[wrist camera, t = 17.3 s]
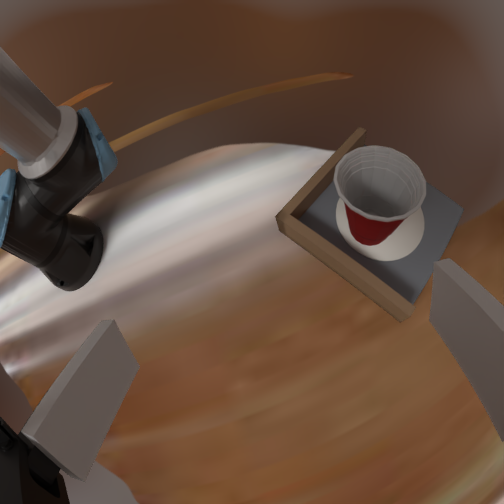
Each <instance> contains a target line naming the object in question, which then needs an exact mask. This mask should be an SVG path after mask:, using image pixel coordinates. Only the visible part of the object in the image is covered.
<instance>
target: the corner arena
mask: <svg viewBox="0 0 504 504" xmlns="http://www.w3.org/2000/svg"><path fill="white" fill-rule="evenodd" d="M365 138H366V130H365V129H363V128H361V127H358V129H357V130H356V131H355V132H354V133H353V134H352V135H351V136H350V137H349V138H348V139H347V140H346V141H345V142H344V143H343V144H342V146H341V147H340V148H339V149H338V150H337V151H336V152H335V153H334V154H333V155H332V156H331V157H330V158H329V159H328V160H327V161H326V163H325V164H324V165H323V166H322V167H321V168H320V169H319V170H318V171H317V172H316V173H315V174H314V175H313V176H312V177H311V179H310V180H309V181H308V182H307V183H306V184H305V185H304V186H303V187H302V188H301V189H300V190H299V191H298V192H297V194H296V195H295V196H294V197H293V198H292V199H291V200H290V201H289V202H288V203H287V204H286V205H285V206H284V207H283V209H282V210H281V211H280V212H279V213H278V214H277V215H276V216H275V217H276V221H277V224H278V228H279V231H280V232H282V233H283V234H284V235H286V236H287V237H289V238H290V239H291V240H293V241H294V242H295V243H297V244H298V245H300V246H301V247H302V248H304V249H305V250H306V251H308V252H309V253H310V254H312V255H313V256H314V257H316V258H317V259H319V260H320V261H321V262H323V263H324V264H325V265H327V266H328V267H329V268H331V269H332V270H333V271H335V272H336V273H337V274H339V275H340V276H341V277H342V278H344V279H345V280H346V281H348V282H349V283H350V284H352V285H353V286H354V287H356V288H357V289H358V290H360V291H361V292H362V293H363V294H365V295H366V296H367V297H369V298H370V299H371V300H372V301H374V302H375V303H376V304H378V305H379V306H380V307H381V308H383V309H384V310H385V311H387V312H388V313H389V314H390V315H392V316H393V317H394V318H395V319H397V320H398V321H399V322H402V321H404V320H405V319H407V318H409V317H410V316H411V315H412V313H413V312H414V310H415V308H416V307H415V306H414V305H413V304H414V302H415V301H416V299H417V298H418V296H419V294H420V293H421V291H422V289H423V288H424V286H425V284H426V283H427V281H428V279H429V278H430V276H431V274H432V272H433V271H434V262H436V261H439V260H440V258H441V256H442V254H443V252H444V250H445V248H446V246H447V244H448V243H449V241H450V239H451V236H452V234H453V232H454V230H455V228H456V226H457V224H458V222H459V220H460V217H461V215H462V213H463V211H464V209H463V208H462V207H461V206H460V205H458V204H457V203H455V202H454V201H453V200H451V199H450V198H449V197H447V196H446V195H445V194H443V193H442V192H440V191H439V190H437V189H436V188H434V187H433V186H431V185H430V184H429V183H427V182H426V196H425V198H424V200H423V203H422V205H421V207H420V208H419V209H418V210H417V211H416V212H414V213H413V214H411V215H410V216H408V217H407V218H406V219H405V220H404V221H403V222H402V223H401V224H400V225H399V226H398V227H397V229H396V230H395V231H394V232H393V233H392V234H391V235H389V236H388V237H387V238H386V239H385V240H384V241H383V242H381V243H380V244H378V245H373V246H367V245H362V244H361V243H359V242H358V241H356V240H355V238H354V237H353V236H352V234H351V232H350V229H349V224H348V219H347V215H346V210H345V204H344V201H343V200H342V199H341V198H340V197H339V195H338V192H337V189H336V186H335V183H334V180H333V179H334V174H335V168H336V165H337V164H338V162H339V161H340V160H341V159H342V157H343V156H344V155H345V154H347V153H349V152H351V151H353V150H354V149H356V148H359V147H365V146H366V145H365Z"/></svg>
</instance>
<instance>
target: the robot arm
mask: <svg viewBox="0 0 504 504" xmlns="http://www.w3.org/2000/svg"><path fill="white" fill-rule="evenodd" d="M0 148H2V149H3V150H5V151H6V152H8V153H9V154H10V155H12V156H13V157H15V158H16V159H18V169H19V171H18V172H17V173H16V171H15V170H14V169H7V170H6V171H4V172H3V174H2V175H1V176H0V248H1V249H3V250H5V251H7V252H9V253H11V254H12V255H14V256H16V257H18V258H20V259H22V260H24V261H26V262H28V263H30V264H32V265H34V266H36V267H37V268H39V269H40V270H41V271H42V273H43V274H44V275H45V276H46V277H47V278H48V279H49V280H50V281H51V282H52V283H53V284H54V285H55V286H56V287H58V288H60V289H63V290H65V291H74V290H77V289H79V288H80V287H82V286H83V285H84V284H85V283H87V281H88V280H89V279H90V278H91V277H92V275H93V274H94V272H95V270H96V268H97V266H98V264H99V261H100V258H101V255H102V250H103V237H102V233H101V230H100V228H99V227H98V226H97V225H96V224H95V223H93V222H92V221H91V220H89V219H87V218H85V217H81V216H77V215H73V214H69V212H70V211H71V210H72V209H73V208H74V207H75V206H76V205H77V204H78V203H79V202H80V201H81V200H82V199H83V198H85V197H86V196H87V195H88V194H89V193H90V192H91V191H92V190H94V189H95V188H96V187H97V186H98V185H99V184H100V183H102V182H103V181H104V180H105V178H106V177H107V176H108V175H109V174H110V173H111V172H112V171H113V170H114V169H115V168H116V166H117V157H116V155H115V154H114V152H113V150H112V149H111V147H110V145H109V144H108V142H107V140H106V139H105V137H104V135H103V134H102V132H101V130H100V129H99V127H98V125H97V123H96V122H95V120H94V118H93V116H92V115H91V113H90V111H89V109H88V108H83V109H81V110H78V111H77V112H76V111H75V110H74V109H73V108H71V107H70V106H59V107H56V106H55V105H54V104H53V103H52V102H51V101H50V100H49V99H48V98H47V97H46V96H45V95H44V94H43V93H42V92H41V91H40V90H39V89H38V88H37V87H36V85H35V84H34V83H33V82H32V81H31V80H30V79H29V78H28V77H27V76H26V75H25V74H24V73H23V72H22V70H21V69H20V68H19V67H18V66H17V65H16V64H15V63H14V62H13V60H12V59H11V58H10V57H9V56H8V55H7V54H6V53H5V52H4V50H3V49H2V48H1V47H0ZM429 321H430V322H431V324H432V325H433V326H434V328H435V329H436V331H437V332H438V334H439V335H440V337H441V338H442V339H443V341H444V342H445V344H446V345H447V347H448V348H449V350H450V351H451V353H452V354H453V356H454V358H455V359H456V361H457V362H458V364H459V365H460V367H461V368H462V370H463V372H464V373H465V375H466V377H467V378H468V380H469V382H470V383H471V385H472V387H473V388H474V390H475V392H476V393H477V395H478V397H479V399H480V400H481V402H482V404H483V406H484V408H485V409H486V411H487V413H488V415H489V417H490V419H491V421H492V422H493V424H494V426H495V428H496V430H497V432H498V434H499V436H500V438H501V440H502V442H503V441H504V306H503V305H502V304H501V303H500V302H499V301H498V300H497V299H496V298H494V297H493V296H492V295H491V294H490V293H489V292H488V291H487V290H486V289H485V288H484V287H483V286H481V285H480V284H479V283H478V282H477V281H476V280H475V279H474V278H472V277H471V276H470V275H469V274H468V273H467V272H465V271H464V270H463V269H462V268H461V267H460V266H458V265H457V264H456V263H455V262H454V261H452V260H451V259H450V258H447V259H444V260H440V261H436V262H434V271H433V287H432V299H431V309H430V318H429ZM139 367H140V366H139V364H138V362H137V361H136V359H135V357H134V356H133V354H132V352H131V350H130V349H129V347H128V345H127V343H126V341H125V339H124V338H123V336H122V334H121V332H120V330H119V328H118V326H117V324H116V322H115V320H104V321H101V322H100V323H99V324H98V326H97V327H96V328H95V329H94V331H93V332H92V333H91V334H90V336H89V337H88V338H87V339H86V341H85V342H84V343H83V344H82V346H81V347H80V348H79V350H78V351H77V352H76V354H75V355H74V356H73V357H72V359H71V360H70V361H69V363H68V364H67V365H66V367H65V368H64V369H63V371H62V372H61V374H60V375H59V376H58V378H57V379H56V380H55V382H54V383H53V385H52V386H51V387H50V389H49V390H48V391H47V392H46V394H45V395H44V397H43V398H42V400H41V401H40V403H39V404H38V405H37V408H35V410H34V411H33V413H32V414H31V416H30V417H29V419H28V420H27V422H26V423H25V425H24V427H23V428H22V430H21V431H20V433H19V434H18V435H17V434H16V433H15V432H14V431H13V430H12V429H11V428H10V426H9V425H8V424H7V423H6V422H5V421H4V420H3V419H2V418H1V417H0V504H70V502H69V499H68V495H67V491H66V486H65V482H64V479H63V476H62V475H61V474H60V473H59V471H60V469H62V470H63V471H64V472H65V473H67V474H68V475H69V476H70V477H72V478H75V479H78V480H80V481H83V482H85V481H86V479H87V476H88V474H89V472H90V469H91V467H92V465H93V463H94V460H95V458H96V456H97V454H98V452H99V449H100V447H101V445H102V443H103V441H104V439H105V436H106V434H107V432H108V430H109V428H110V426H111V424H112V422H113V420H114V418H115V415H116V413H117V411H118V409H119V407H120V405H121V403H122V401H123V399H124V397H125V395H126V393H127V391H128V389H129V387H130V385H131V383H132V381H133V379H134V377H135V375H136V373H137V371H138V369H139Z"/></svg>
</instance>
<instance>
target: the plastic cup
mask: <svg viewBox="0 0 504 504" xmlns="http://www.w3.org/2000/svg"><path fill="white" fill-rule="evenodd" d="M333 180H334V183H335V186H336V189H337V192H338V195H339V197H340V198H341V199H342V200H343V201H344V204H345V210H346V215H347V219H348V224H349V229H350V232H351V234H352V236H353V237H354V238H355V240H356V241H358V242H359V243H361V244H362V245H367V246H373V245H378V244H380V243H381V242H383V241H384V240H385V239H386V238H387V237H388V236H389V235H391V234H392V233H393V232H394V231H395V230H396V229H397V227H398V226H399V225H400V224H401V223H402V222H403V221H404V220H405V219H406V218H407V217H408V216H410V215H411V214H413V213H414V212H416V211H417V210H418V209H419V208H420V207H421V205H422V203H423V200H424V198H425V196H426V180H425V178H424V176H423V174H422V172H421V170H420V168H419V166H418V165H417V164H416V163H415V162H413V161H412V160H411V159H410V158H409V157H408V156H407V155H405V154H403V153H401V152H399V151H397V150H394V149H392V148H389V147H382V146H375V145H373V146H365V147H359V148H356V149H354V150H353V151H351V152H349V153H347V154H345V155H344V156H343V157H342V159H341V160H340V161H339V162H338V164H337V165H336V168H335V174H334V179H333Z"/></svg>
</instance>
